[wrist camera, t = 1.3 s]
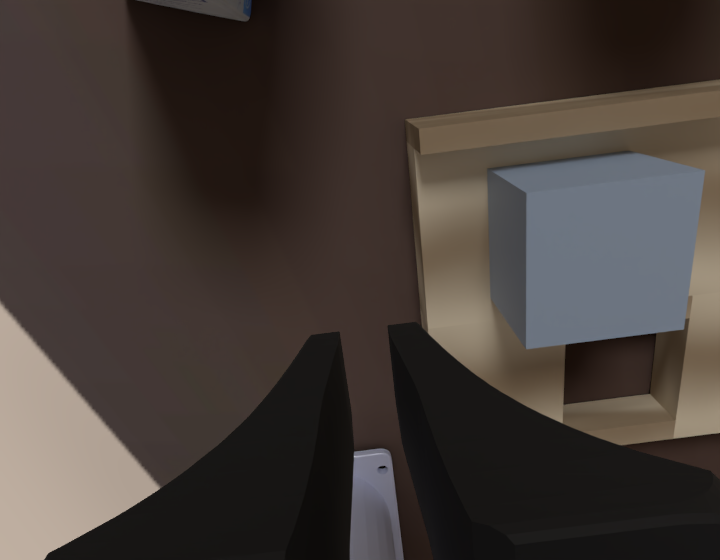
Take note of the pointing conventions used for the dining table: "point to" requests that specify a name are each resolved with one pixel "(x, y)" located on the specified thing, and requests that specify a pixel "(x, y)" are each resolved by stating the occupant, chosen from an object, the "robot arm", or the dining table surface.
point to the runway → (472, 266)
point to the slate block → (592, 246)
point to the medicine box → (211, 7)
